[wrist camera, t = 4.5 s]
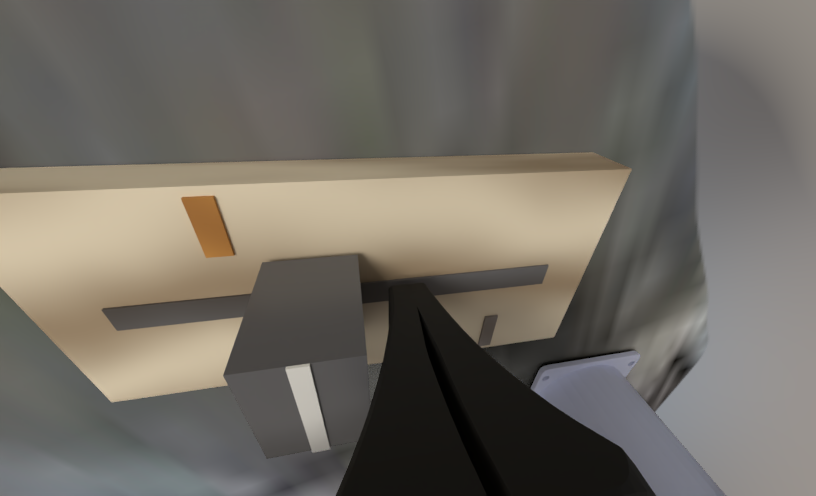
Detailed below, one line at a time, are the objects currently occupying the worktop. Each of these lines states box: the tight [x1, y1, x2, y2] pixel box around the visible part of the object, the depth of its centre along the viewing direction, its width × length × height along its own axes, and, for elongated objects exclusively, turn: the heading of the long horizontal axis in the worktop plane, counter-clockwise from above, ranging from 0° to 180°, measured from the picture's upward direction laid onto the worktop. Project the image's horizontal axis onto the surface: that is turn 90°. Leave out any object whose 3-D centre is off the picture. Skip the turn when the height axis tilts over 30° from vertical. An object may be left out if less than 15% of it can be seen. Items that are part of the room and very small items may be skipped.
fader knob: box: [223, 254, 370, 459], centre depth 9 cm, size 4×3×4 cm
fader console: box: [0, 152, 632, 402], centre depth 12 cm, size 9×20×2 cm, turn 87°
